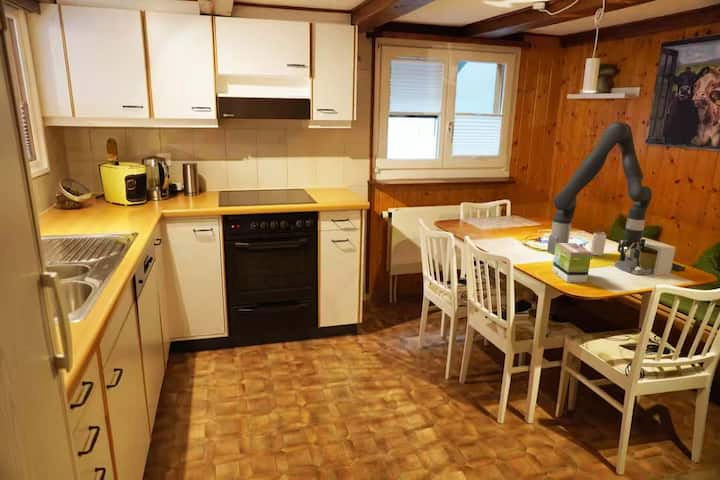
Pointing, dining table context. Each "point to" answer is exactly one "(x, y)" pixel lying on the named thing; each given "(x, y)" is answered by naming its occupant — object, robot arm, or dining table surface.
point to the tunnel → (659, 256)
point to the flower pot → (648, 258)
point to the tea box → (571, 262)
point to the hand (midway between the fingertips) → (629, 260)
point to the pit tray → (677, 267)
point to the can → (598, 243)
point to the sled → (632, 266)
